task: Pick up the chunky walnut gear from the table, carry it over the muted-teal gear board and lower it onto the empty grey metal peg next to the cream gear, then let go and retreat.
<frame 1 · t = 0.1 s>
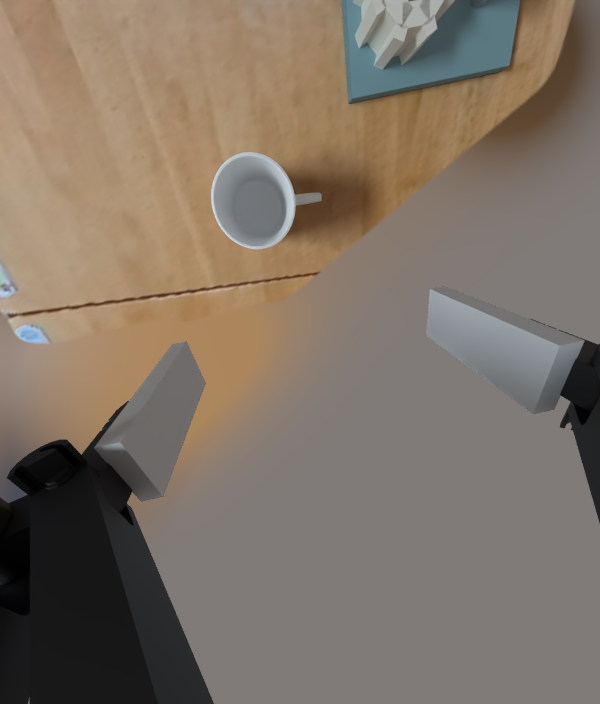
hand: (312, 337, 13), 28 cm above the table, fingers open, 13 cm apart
cream gear: (392, 11, 26), resting on gear board
mug: (270, 208, 34), on the table
gear board: (427, 13, 27), on the table
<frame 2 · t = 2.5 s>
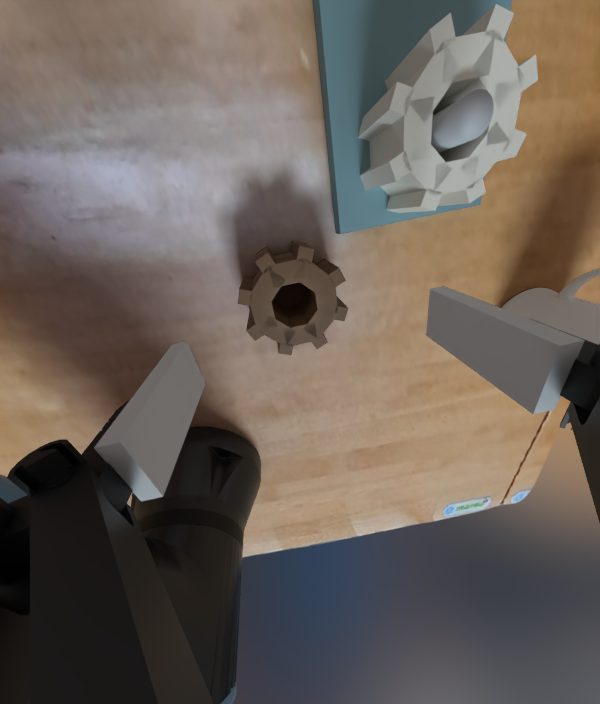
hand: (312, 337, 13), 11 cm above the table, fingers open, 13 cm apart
cream gear: (413, 146, 18), resting on gear board
mug: (525, 310, 28), on the table
walnut gear: (289, 290, 23), on the table
gear board: (405, 66, 17), on the table
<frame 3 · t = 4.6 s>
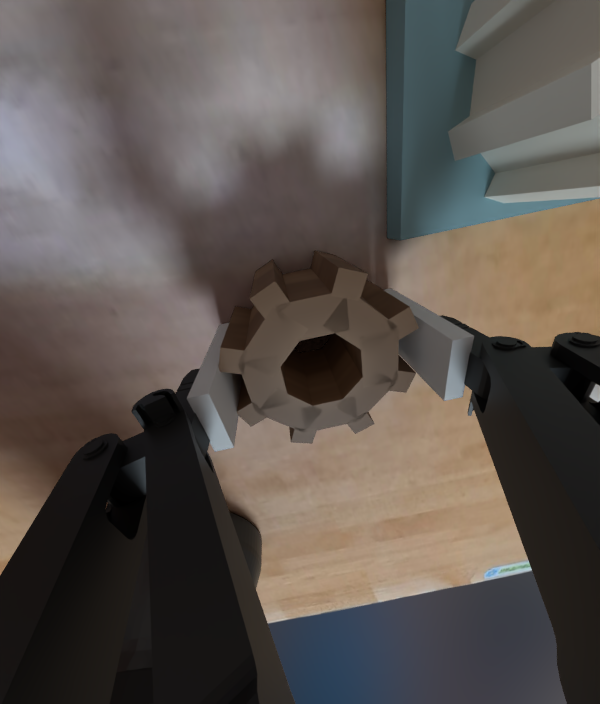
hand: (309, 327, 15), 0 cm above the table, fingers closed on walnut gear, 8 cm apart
cream gear: (556, 72, 9), resting on gear board
walnut gear: (306, 326, 15), on the table, touching gripper
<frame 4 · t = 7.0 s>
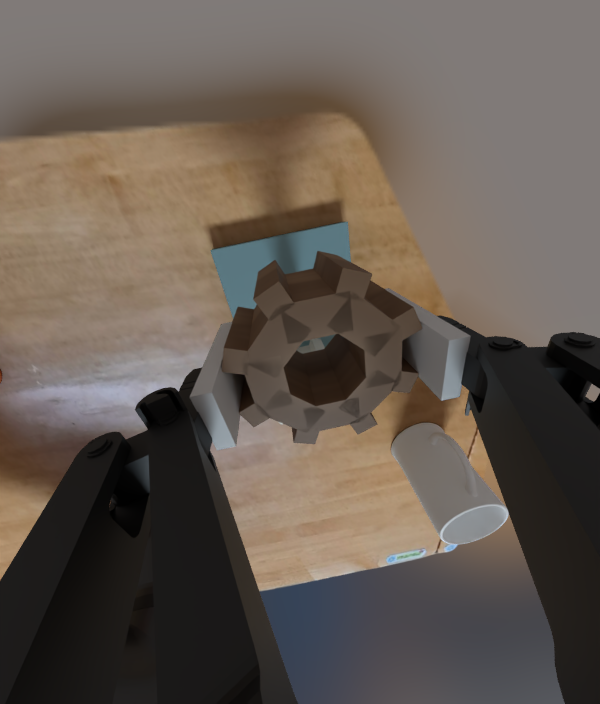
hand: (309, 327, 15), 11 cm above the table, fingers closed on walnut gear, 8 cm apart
mug: (418, 434, 38), on the table
walnut gear: (309, 327, 15), point 11 cm above the table, touching gripper
gear board: (297, 329, 27), on the table
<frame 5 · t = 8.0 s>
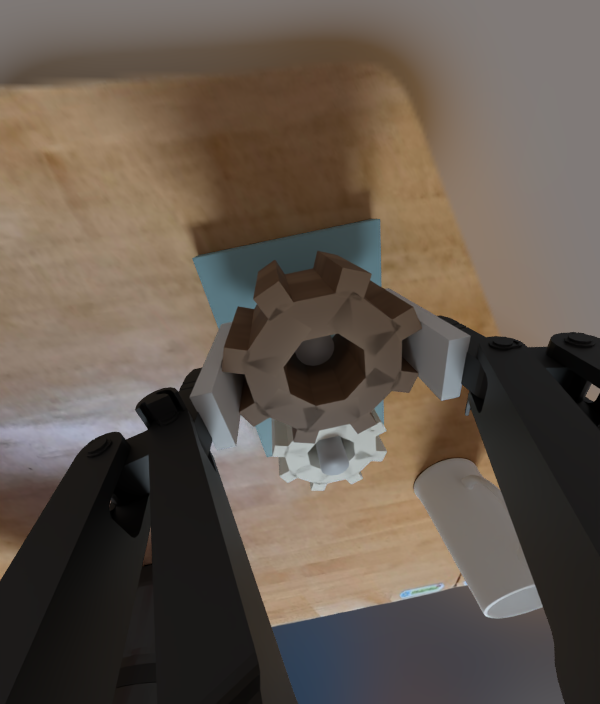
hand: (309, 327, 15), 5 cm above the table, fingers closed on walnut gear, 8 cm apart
cream gear: (318, 408, 22), resting on gear board
mug: (446, 469, 32), on the table
walnut gear: (308, 326, 15), point 5 cm above the table, touching gripper
gear board: (308, 355, 21), on the table
when the fingers open (2 cm above the table, at t = 9.0 s): walnut gear stays where it is, resting on gear board.
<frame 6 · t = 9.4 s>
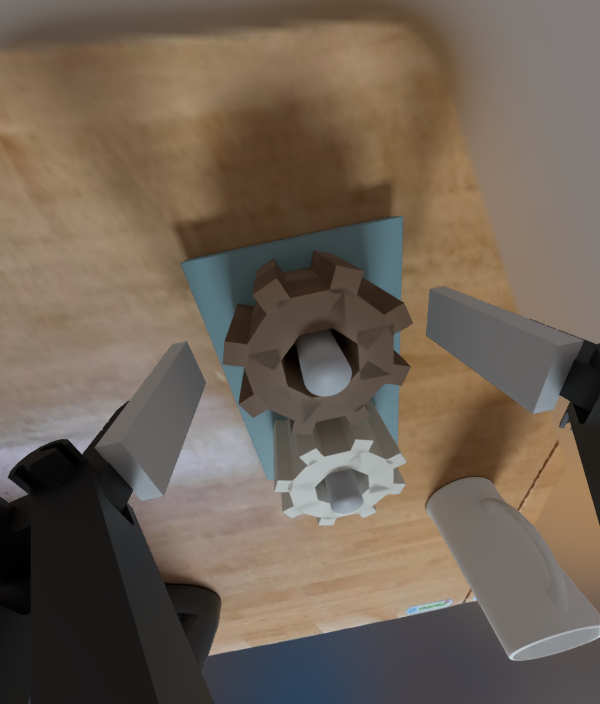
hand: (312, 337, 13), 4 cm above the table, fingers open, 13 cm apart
cream gear: (326, 428, 20), resting on gear board
mug: (461, 488, 30), on the table
walnut gear: (306, 323, 15), point 1 cm above the table, touching gear board
gear board: (314, 371, 19), on the table
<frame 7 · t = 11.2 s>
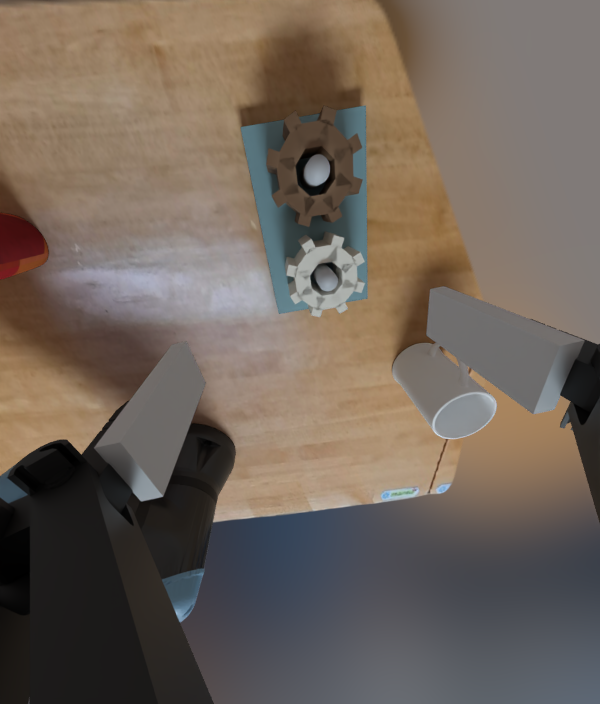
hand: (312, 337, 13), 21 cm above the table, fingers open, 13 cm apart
cream gear: (319, 269, 30), resting on gear board
mug: (418, 355, 40), on the table
walnut gear: (309, 178, 26), point 1 cm above the table, touching gear board
paper cup: (21, 242, 28), on the table
gear board: (313, 226, 29), on the table
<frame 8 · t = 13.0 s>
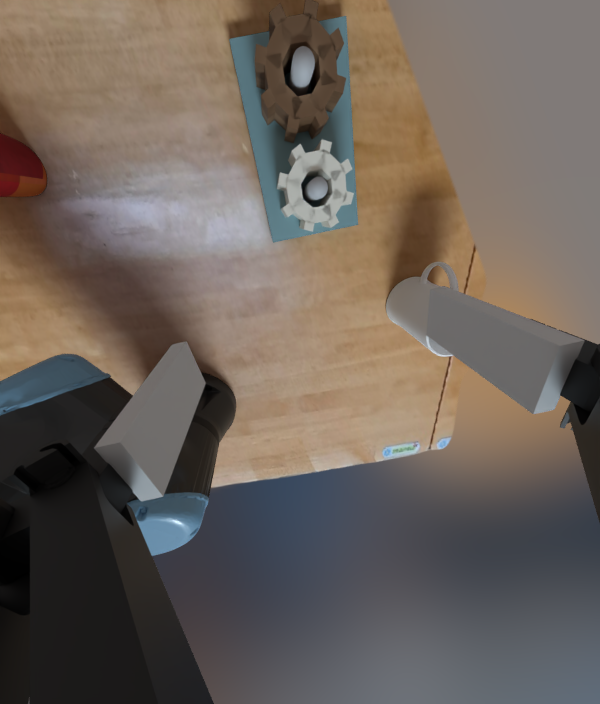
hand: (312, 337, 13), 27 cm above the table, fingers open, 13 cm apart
cream gear: (310, 192, 32), resting on gear board
mug: (410, 292, 42), on the table
walnut gear: (296, 93, 27), point 1 cm above the table, touching gear board
paper cup: (20, 169, 29), on the table
gear board: (302, 149, 31), on the table
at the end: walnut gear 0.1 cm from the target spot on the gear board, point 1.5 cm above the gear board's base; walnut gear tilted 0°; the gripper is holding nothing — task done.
